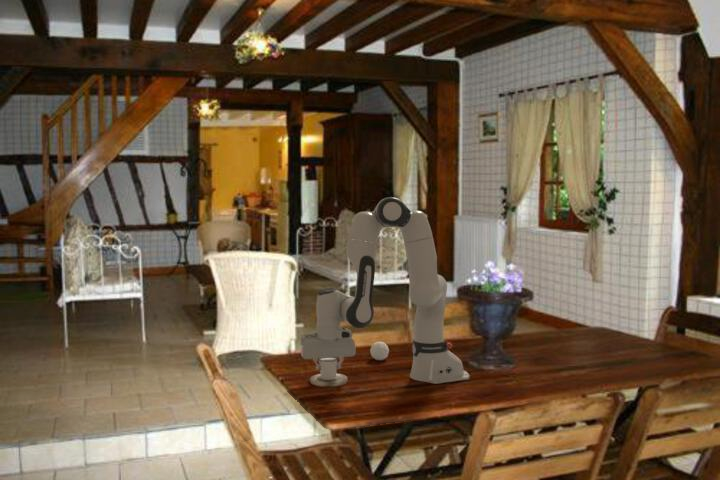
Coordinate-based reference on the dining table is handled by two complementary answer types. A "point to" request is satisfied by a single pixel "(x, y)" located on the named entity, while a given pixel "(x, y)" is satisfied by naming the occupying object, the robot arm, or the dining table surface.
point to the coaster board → (328, 381)
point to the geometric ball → (379, 350)
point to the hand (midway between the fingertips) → (328, 369)
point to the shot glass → (328, 368)
